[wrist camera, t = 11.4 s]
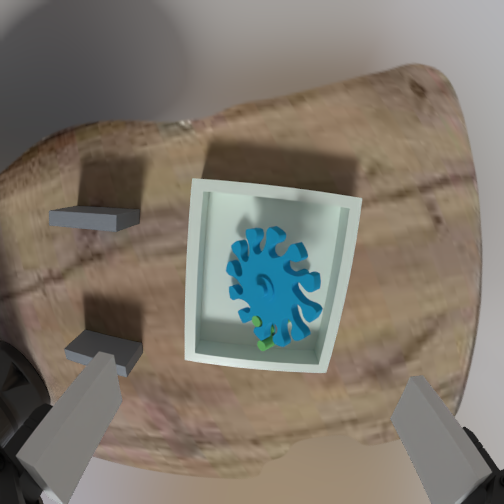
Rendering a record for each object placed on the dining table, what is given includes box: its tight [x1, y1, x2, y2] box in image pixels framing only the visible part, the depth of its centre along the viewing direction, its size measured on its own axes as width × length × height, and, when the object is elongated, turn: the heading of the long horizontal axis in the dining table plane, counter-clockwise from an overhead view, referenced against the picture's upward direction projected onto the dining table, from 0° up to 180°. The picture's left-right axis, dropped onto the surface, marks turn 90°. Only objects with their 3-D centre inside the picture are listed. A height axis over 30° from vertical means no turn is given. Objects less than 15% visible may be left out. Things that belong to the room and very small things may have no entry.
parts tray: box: [185, 178, 362, 373], centre depth 26 cm, size 14×17×4 cm
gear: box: [226, 226, 323, 351], centre depth 25 cm, size 11×6×10 cm
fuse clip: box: [49, 206, 143, 377], centre depth 26 cm, size 8×16×5 cm, turn 174°
